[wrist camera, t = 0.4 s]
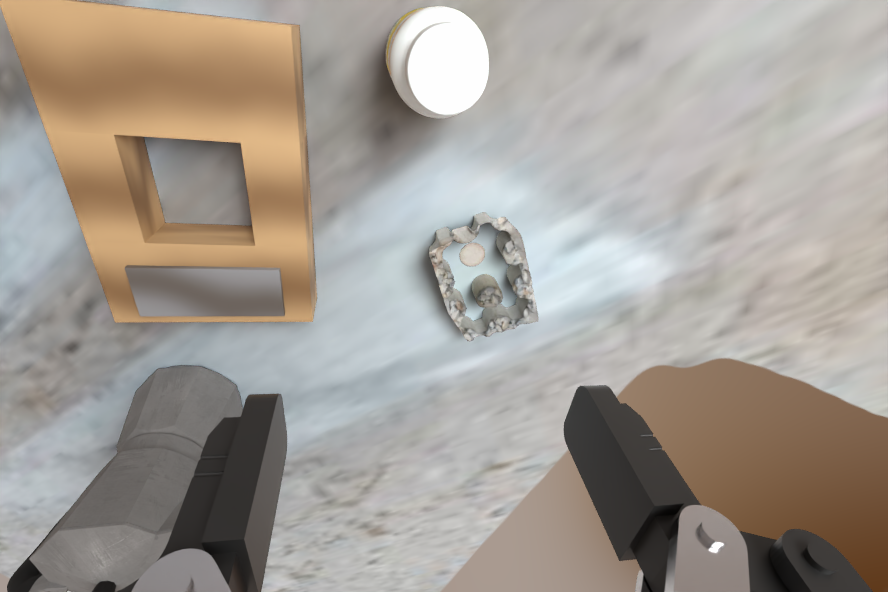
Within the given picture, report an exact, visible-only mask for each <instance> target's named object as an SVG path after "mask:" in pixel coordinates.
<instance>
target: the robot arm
mask: <svg viewBox="0 0 888 592" xmlns="http://www.w3.org/2000/svg"><path fill="white" fill-rule="evenodd" d="M564 437H565V441H566V444H567V447H568V449H569V451H570V453H571V455H572V457H573V460H574V462H575V464H576V466H577V468H578V471H579V473H580V475H581V477H582V479H583V481H584V484H585V486H586V488H587V490H588V492H589V495H590V497H591V499H592V501H593V504H594V506H595V508H596V510H597V512H598V515H599V517H600V519H601V521H602V523H603V526H604V528H605V530H606V532H607V534H608V536H609V539H610V541H611V543H612V545H613V548H614V550H615V552H616V554H617V556H618V559H619V561H623V560H633V559H637V561H638V564H639V566H640V568H641V570H640V571H639V573H638V577H637V584H636V590H635V592H873V591H872V590H871V589H870V588H869V586H868V585H867V584H866V583H865V581H864V580H863V579H862V578H861V577H860V575H859V574H858V573H857V572H856V571H855V569H854V568H853V567H852V565H851V564H850V563H849V562H848V561H847V559H846V558H845V557H844V556H843V555H842V554H841V553H840V552H839V551H838V550H837V549H836V548H835V547H833V546H832V545H831V544H830V543H828V542H827V541H825V540H824V539H822V538H820V537H819V536H817V535H815V534H813V533H811V532H808V531H805V530H800V529H791V530H788V531H786V532H785V533H784V534H783V535H782V536H781V537H780V538H779V539H778V540H774V539H770V538H766V537H762V536H758V535H754V534H750V533H746V532H742V531H739V530H738V529H737V528H736V527H735V526H734V525H733V524H732V523H731V522H730V521H729V520H728V519H727V518H726V517H725V516H723V515H722V514H720V513H719V512H717V511H715V510H713V509H711V508H708V507H705V506H702V505H701V504H700V503H699V501H698V500H697V499H696V497H695V496H694V494H693V493H692V491H691V490H690V488H689V487H688V485H687V484H686V482H685V481H684V479H683V478H682V476H681V475H680V473H679V472H678V470H677V469H676V467H675V466H674V464H673V463H672V461H671V460H670V458H669V457H668V455H667V454H666V452H665V451H663V450H662V446H661V445H660V443H659V442H658V440H657V439H656V438H655V437H653V433H652V431H651V430H650V428H649V427H648V426H647V424H646V423H645V421H644V420H643V418H642V417H641V416H640V415H638V414H637V413H636V412H635V411H634V410H633V409H632V408H631V407H629V406H628V405H627V404H620V403H619V401H618V399H617V398H616V396H615V395H614V393H613V391H612V390H611V389H610V388H609V387H608V386H606V385H599V386H580V387H578V389H577V390H576V393H575V395H574V398H573V401H572V403H571V406H570V409H569V411H568V414H567V417H566V419H565V422H564ZM286 452H287V431H286V423H285V416H284V408H283V401H282V396H281V394H256V395H249V396H248V397H247V399H246V402H245V405H244V408H243V411H242V415H241V417H224V418H223V419H222V420H221V422H220V423H219V424H218V425H217V426H216V427H215V428H214V429H213V431H212V432H211V433H210V434H209V435H208V437H207V440H206V442H205V445H204V448H203V450H202V453H201V456H200V457H201V458H200V460H199V461H198V464H197V466H196V469H195V472H194V477H192V480H191V482H190V485H189V488H188V490H187V493H186V496H185V498H184V501H183V503H182V506H181V509H180V511H179V514H178V517H177V519H176V522H175V525H174V527H173V530H172V533H171V535H170V538H169V541H168V543H167V545H166V547H165V550H164V551H163V553H162V554H161V556H160V557H159V559H158V560H157V561H156V562H155V563H154V564H153V565H151V566H150V567H149V568H148V569H147V570H146V571H145V572H144V573H143V575H142V576H141V577H140V578H139V579H137V580H136V581H135V582H133V583H132V584H130V585H128V586H127V587H125V588H123V589H121V590H119V591H117V592H261V589H262V584H263V579H264V573H265V568H266V562H267V557H268V552H269V546H270V541H271V535H272V530H273V524H274V519H275V514H276V508H277V503H278V497H279V492H280V487H281V481H282V476H283V470H284V465H285V459H286Z"/></svg>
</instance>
